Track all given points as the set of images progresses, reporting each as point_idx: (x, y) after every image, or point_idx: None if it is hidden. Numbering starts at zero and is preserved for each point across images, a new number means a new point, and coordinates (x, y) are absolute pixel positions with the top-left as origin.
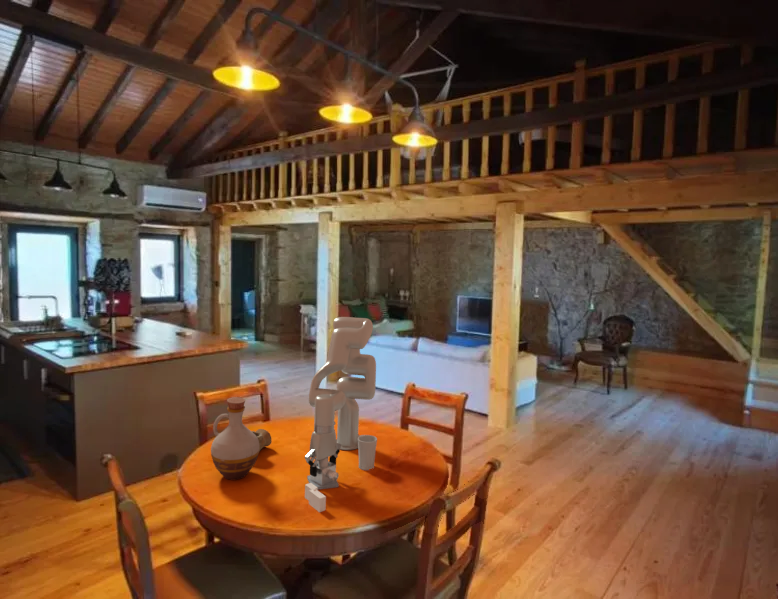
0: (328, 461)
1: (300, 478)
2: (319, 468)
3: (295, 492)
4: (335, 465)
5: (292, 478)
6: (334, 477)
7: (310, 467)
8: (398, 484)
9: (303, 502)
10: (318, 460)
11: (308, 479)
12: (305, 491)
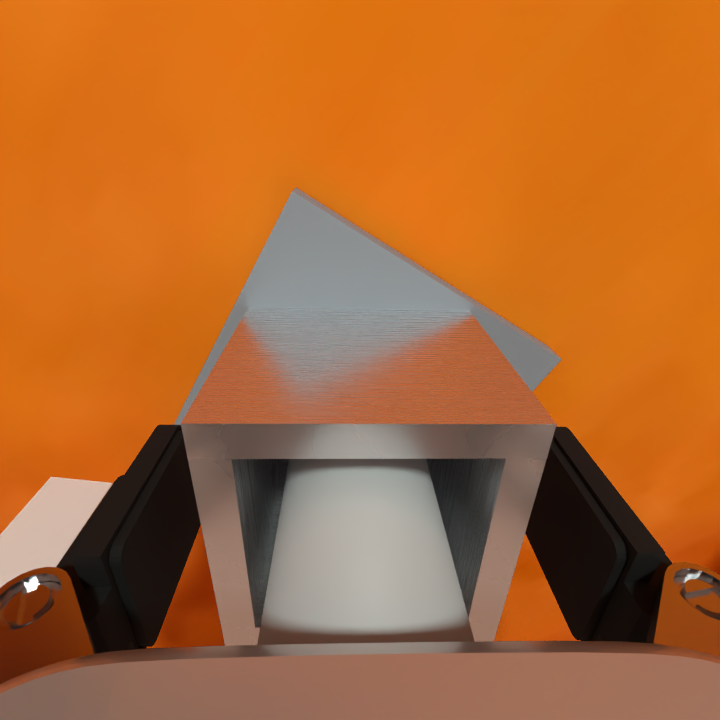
0: (520, 530)
1: (220, 118)
2: (226, 600)
3: (4, 358)
4: (482, 632)
5: (120, 15)
6: None
7: (70, 563)
8: None
9: (7, 518)
10: (260, 633)
11: (252, 270)
12: (10, 532)
